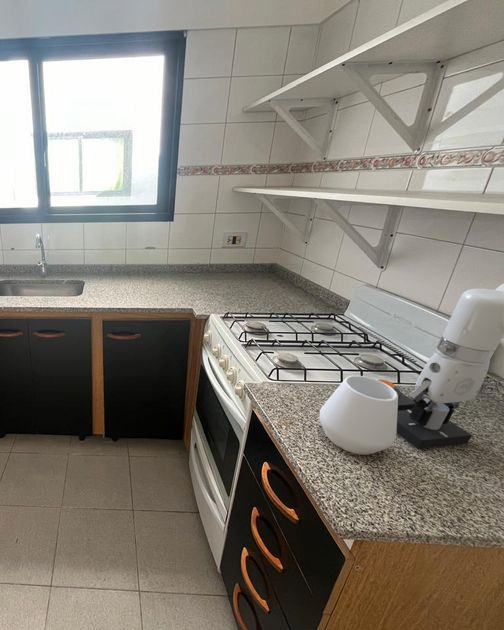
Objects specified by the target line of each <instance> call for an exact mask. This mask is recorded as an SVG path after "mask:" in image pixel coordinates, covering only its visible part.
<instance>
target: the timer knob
mask: <svg viewBox="0 0 504 630" xmlns="http://www.w3.org/2000/svg"><path fill="white" fill-rule="evenodd" d="M424 400H425V401H426V403H427V404H428V402H429V401H430V400H429V399H427V398H424ZM430 411H432V412H433V413H432V415H431V416H430V418H429V420H428V422H427V424H426V426H423V427H425V428H428V429H432V430H438V429H440V427H441V425H442V423H443V421H444V419H445V418H446V416H447V414H448V412H449V407H448V406H446V405H445V404H443V403H436V404H435V405H434V407H433V408H432V409H431V410H430ZM416 423H417V422H416ZM419 425H420V424H419Z"/></svg>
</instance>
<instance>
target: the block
mask: <svg viewBox="0 0 504 630" xmlns="http://www.w3.org/2000/svg"><path fill="white" fill-rule="evenodd" d="M394 390H395V391H396V392H397V395H398V409H397V411H402V410H412V409H413V408H414V405H415V404H414V401H413V399H411V398H410V397H409V396H408V395H406V394H405V393H403V392H401V390H400V388H398V387H397V386H395V389H394Z"/></svg>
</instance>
